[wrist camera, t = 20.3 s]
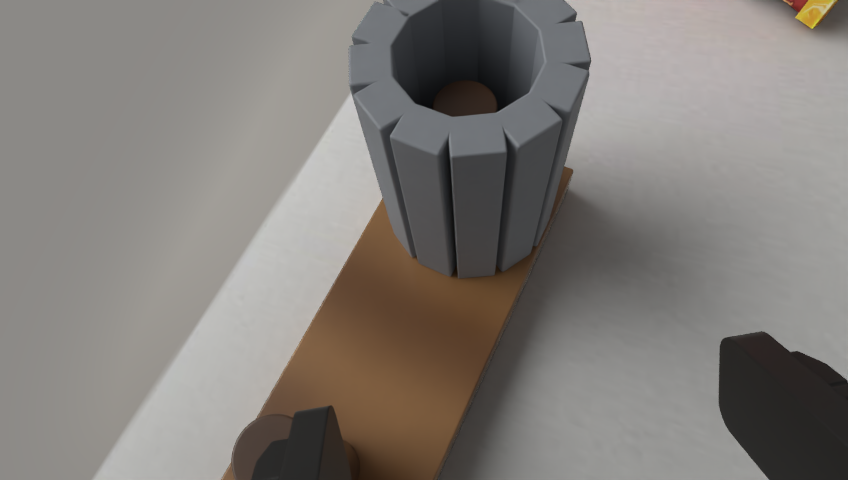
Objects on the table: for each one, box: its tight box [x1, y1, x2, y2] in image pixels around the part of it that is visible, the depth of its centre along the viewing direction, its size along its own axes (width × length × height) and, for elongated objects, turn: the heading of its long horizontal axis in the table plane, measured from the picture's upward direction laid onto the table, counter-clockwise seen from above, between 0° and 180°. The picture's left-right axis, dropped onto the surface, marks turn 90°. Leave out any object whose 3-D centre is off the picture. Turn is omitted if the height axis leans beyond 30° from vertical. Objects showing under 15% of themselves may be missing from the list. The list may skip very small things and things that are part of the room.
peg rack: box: [221, 80, 573, 480], centre depth 18 cm, size 16×6×8 cm, turn 154°
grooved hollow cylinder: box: [349, 0, 591, 278], centre depth 18 cm, size 6×6×8 cm
